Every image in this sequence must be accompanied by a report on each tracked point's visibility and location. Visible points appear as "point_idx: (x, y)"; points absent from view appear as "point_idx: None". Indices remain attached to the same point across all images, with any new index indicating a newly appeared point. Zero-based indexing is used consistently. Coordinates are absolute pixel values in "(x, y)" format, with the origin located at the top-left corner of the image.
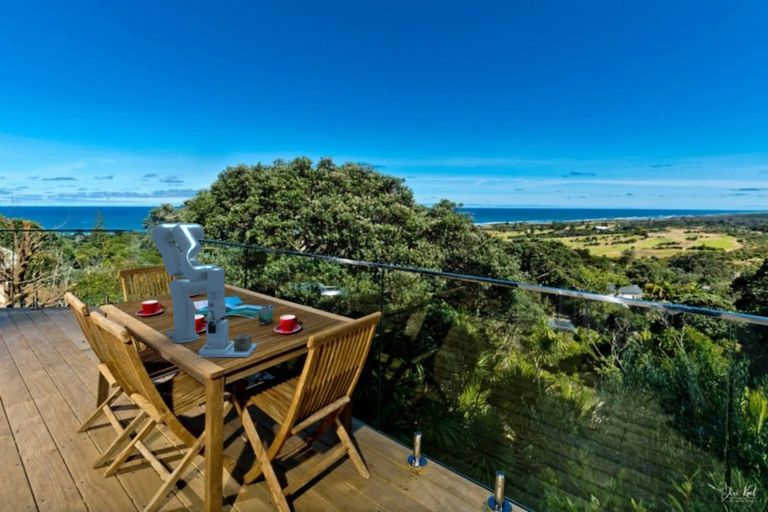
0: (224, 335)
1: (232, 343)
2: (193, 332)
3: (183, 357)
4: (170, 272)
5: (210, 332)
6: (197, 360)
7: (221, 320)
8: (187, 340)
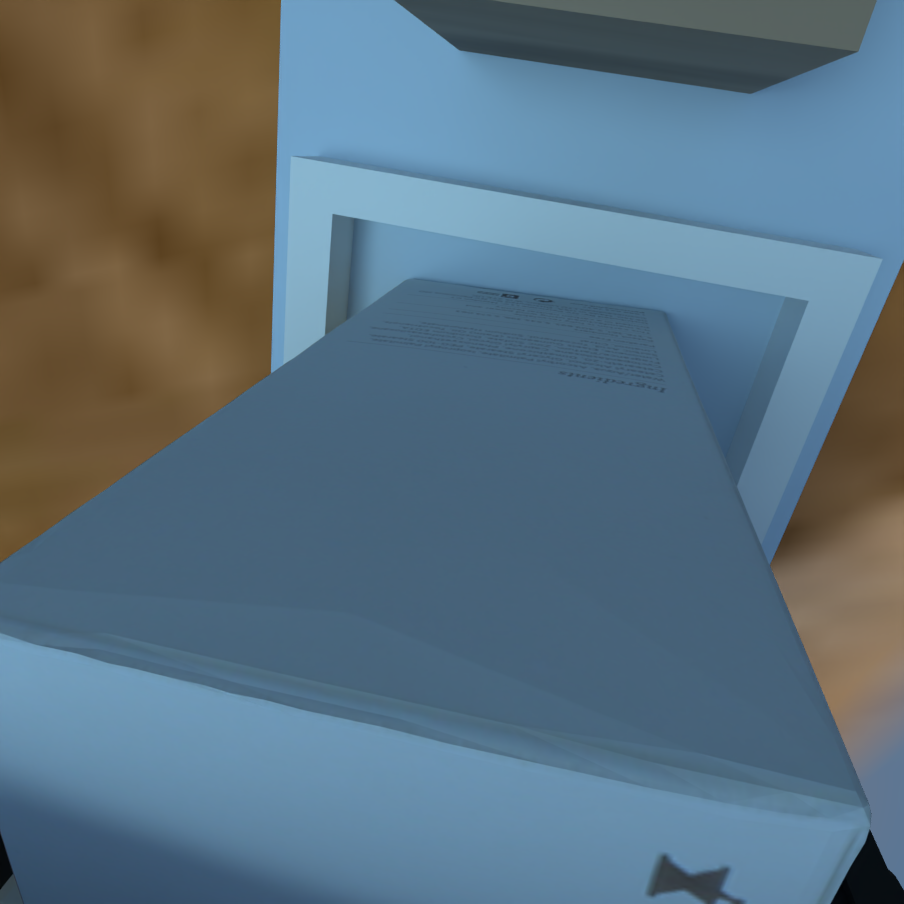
0: (691, 418)
1: (433, 199)
2: None
3: None
4: None
5: None
6: (837, 644)
7: (162, 894)
8: None
